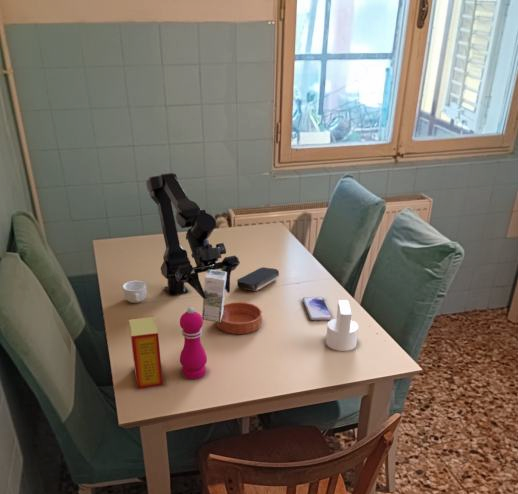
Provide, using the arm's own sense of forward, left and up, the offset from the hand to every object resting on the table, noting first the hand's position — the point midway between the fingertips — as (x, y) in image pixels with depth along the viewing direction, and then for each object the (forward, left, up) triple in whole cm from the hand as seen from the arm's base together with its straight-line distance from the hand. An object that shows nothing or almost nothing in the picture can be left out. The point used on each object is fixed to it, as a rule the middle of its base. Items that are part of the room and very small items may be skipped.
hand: (216, 295), depth 165 cm
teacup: (-32, -15, -13) cm, 38 cm away
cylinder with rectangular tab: (+21, +31, -13) cm, 40 cm away
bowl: (-3, +9, -13) cm, 16 cm away
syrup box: (-2, -1, -8) cm, 9 cm away
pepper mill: (+16, -14, -13) cm, 25 cm away
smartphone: (0, +36, -13) cm, 38 cm away
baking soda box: (+12, -26, -13) cm, 32 cm away
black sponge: (-26, +28, -13) cm, 40 cm away
